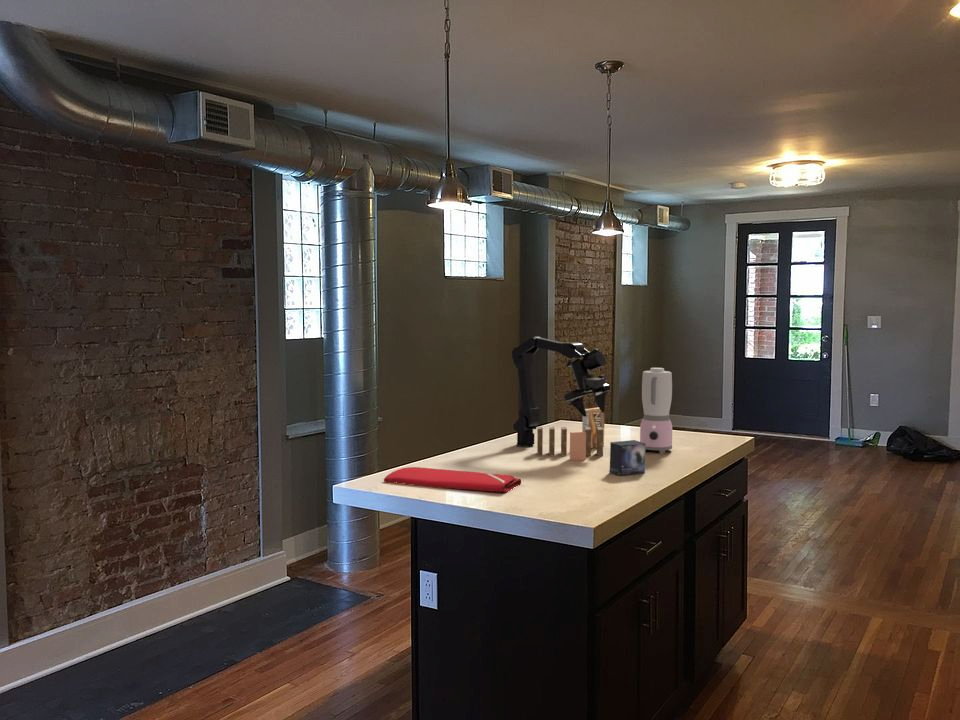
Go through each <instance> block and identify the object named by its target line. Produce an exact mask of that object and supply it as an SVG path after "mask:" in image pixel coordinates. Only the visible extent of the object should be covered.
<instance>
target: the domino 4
mask: <svg viewBox="0 0 960 720" xmlns="http://www.w3.org/2000/svg"><path fill="white" fill-rule="evenodd" d="M586 458H587V456H586V432H582V431H570V432H569V460H570V461H586Z"/></svg>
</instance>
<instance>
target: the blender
mask: <svg viewBox="0 0 960 720" xmlns="http://www.w3.org/2000/svg"><path fill="white" fill-rule="evenodd" d="M672 374H673V373H672V372H671V371H669V370H668V371H667V370H665V368H663V367H650V370H644V371H643V372H642V380H641V402H642V408H643V417H642V419H641V422H640V426H639V430H640V432H639V442H643V443H646V446H645V453H646V452H647V450H649V451H658V453H659V454H660V453H663V454H665V453H666V451H668V450H669V451H670V450H672V449H673V424H672V421H671V419H670V410H671V405H672V398H673V377H672Z"/></svg>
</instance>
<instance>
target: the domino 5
mask: <svg viewBox="0 0 960 720" xmlns="http://www.w3.org/2000/svg"><path fill="white" fill-rule="evenodd" d="M585 432H586V457H591V456H592V450H591V449H592V448H591V428H590V427H585Z"/></svg>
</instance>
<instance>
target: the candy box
mask: <svg viewBox="0 0 960 720" xmlns="http://www.w3.org/2000/svg"><path fill="white" fill-rule="evenodd" d="M585 411H586V416H585V417H584V416H583V415H582V428H581V429H582V431H581V432H585V427H590V428H591V449H594V448H595V447H596V448H597V427H602V428H603V447H604V446H605V421H606V420H605V418H606V417H605V415H606V413H605V412H603V413H602V412H601V410H600V408H599V407H591V408H590V407H589V408H585Z"/></svg>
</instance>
